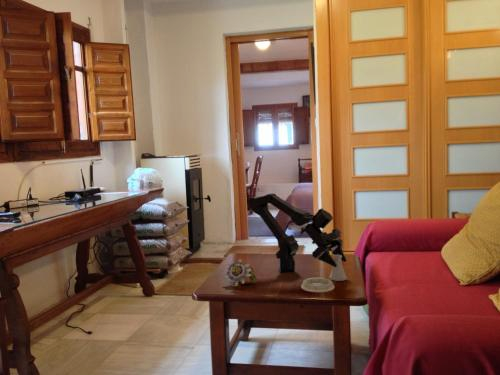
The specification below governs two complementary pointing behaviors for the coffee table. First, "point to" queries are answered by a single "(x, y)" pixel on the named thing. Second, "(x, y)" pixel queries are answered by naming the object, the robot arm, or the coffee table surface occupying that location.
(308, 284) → the shaker seat
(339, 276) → the flask
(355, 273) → the coffee table surface
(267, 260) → the coffee table surface
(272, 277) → the coffee table surface
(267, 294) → the coffee table surface
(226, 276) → the passion flower
